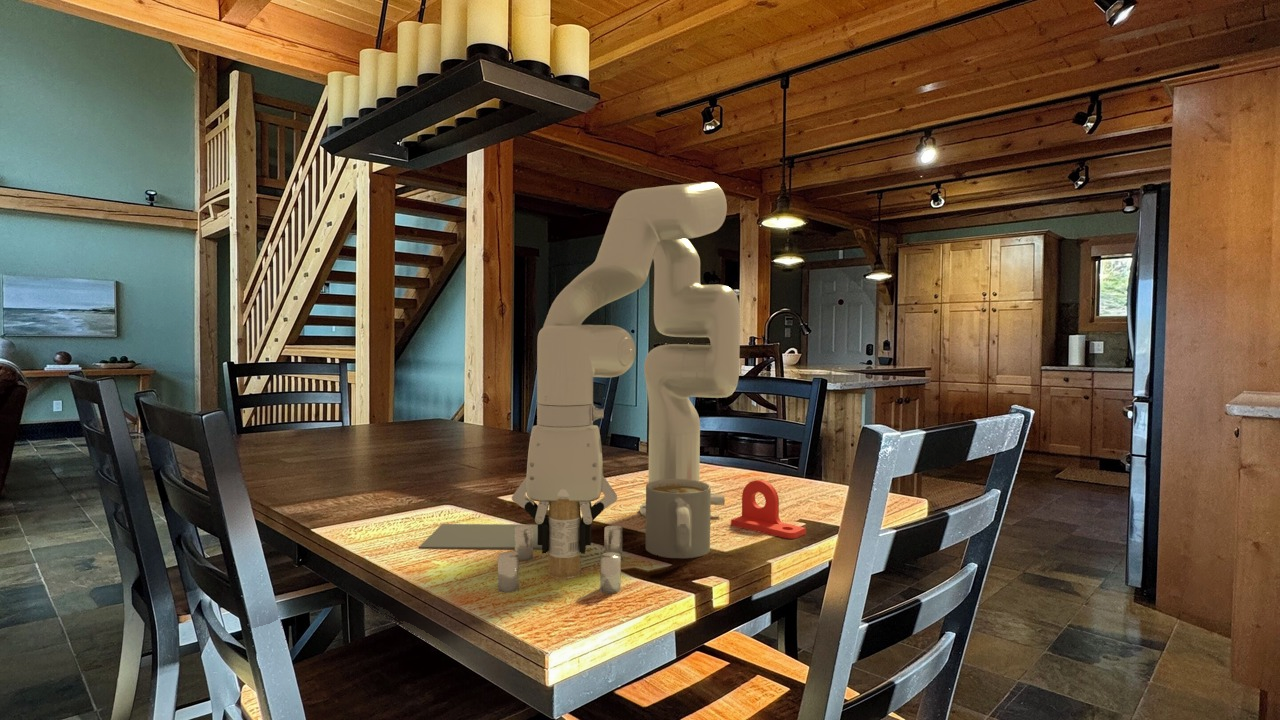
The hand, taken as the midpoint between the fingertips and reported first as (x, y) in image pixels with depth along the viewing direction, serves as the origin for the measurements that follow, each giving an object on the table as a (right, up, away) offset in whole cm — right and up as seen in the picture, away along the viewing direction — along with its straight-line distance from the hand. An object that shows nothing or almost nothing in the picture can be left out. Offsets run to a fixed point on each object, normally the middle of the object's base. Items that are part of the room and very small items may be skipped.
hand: (564, 549), depth 89 cm
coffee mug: (+16, -4, +10) cm, 19 cm away
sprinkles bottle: (0, -4, 0) cm, 4 cm away
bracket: (+32, -4, +23) cm, 40 cm away
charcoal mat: (-13, -3, +16) cm, 21 cm away
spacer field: (0, -4, 0) cm, 4 cm away
